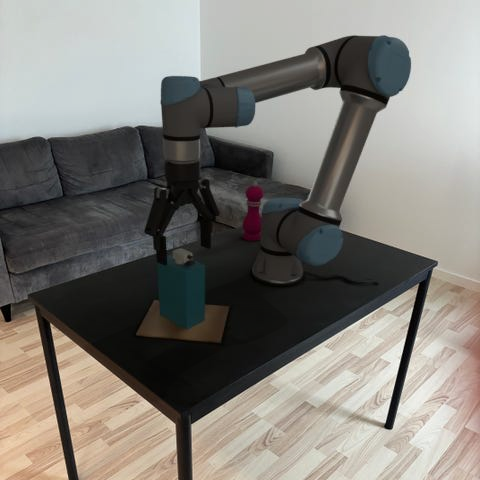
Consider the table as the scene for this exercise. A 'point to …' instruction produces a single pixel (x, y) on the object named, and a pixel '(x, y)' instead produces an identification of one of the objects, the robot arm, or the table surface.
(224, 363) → the table surface
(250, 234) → the pepper mill
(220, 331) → the cork mat
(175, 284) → the teal box
